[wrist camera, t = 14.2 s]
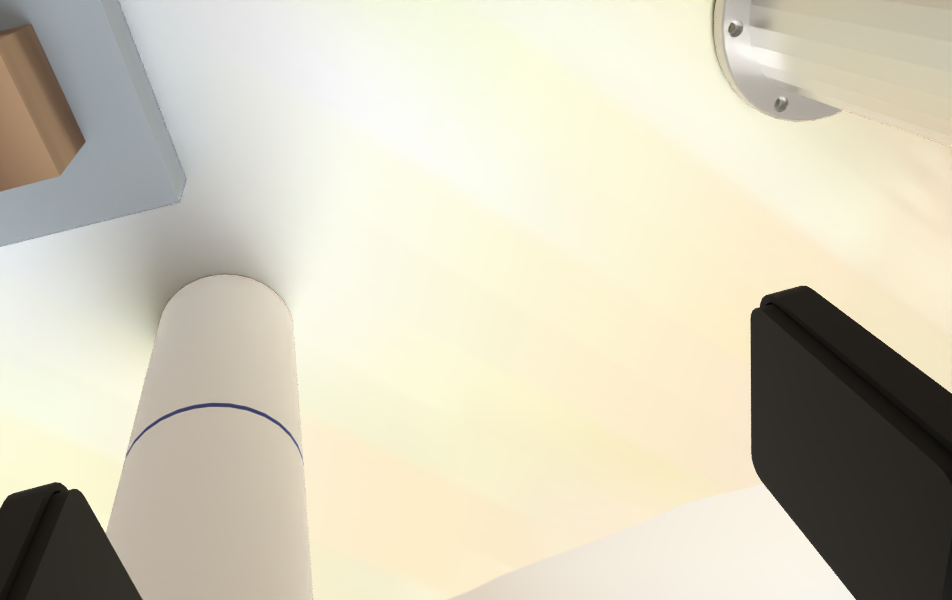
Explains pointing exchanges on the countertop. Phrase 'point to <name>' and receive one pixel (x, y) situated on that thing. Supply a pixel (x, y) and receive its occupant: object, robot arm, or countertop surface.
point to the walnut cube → (32, 113)
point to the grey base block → (94, 123)
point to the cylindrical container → (217, 453)
